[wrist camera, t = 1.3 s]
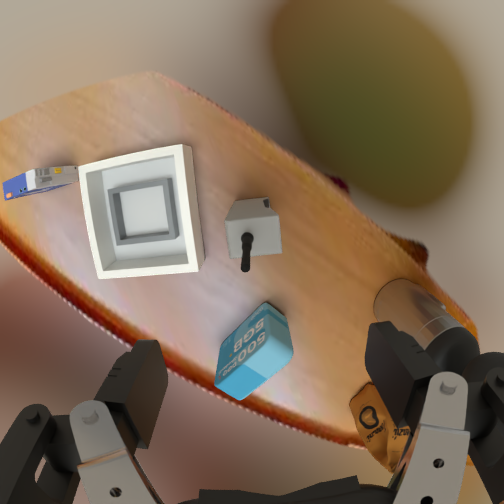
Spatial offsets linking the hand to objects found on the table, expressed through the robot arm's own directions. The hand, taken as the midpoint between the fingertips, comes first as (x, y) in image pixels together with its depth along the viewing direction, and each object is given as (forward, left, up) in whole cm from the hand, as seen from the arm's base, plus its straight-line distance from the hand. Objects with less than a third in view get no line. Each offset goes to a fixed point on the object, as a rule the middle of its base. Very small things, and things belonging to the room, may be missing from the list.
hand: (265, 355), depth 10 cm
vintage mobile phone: (0, 0, -34) cm, 34 cm away
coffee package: (-23, +42, -34) cm, 59 cm away
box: (+16, -2, -34) cm, 38 cm away
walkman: (+32, -10, -34) cm, 48 cm away
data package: (+2, +20, -34) cm, 40 cm away
